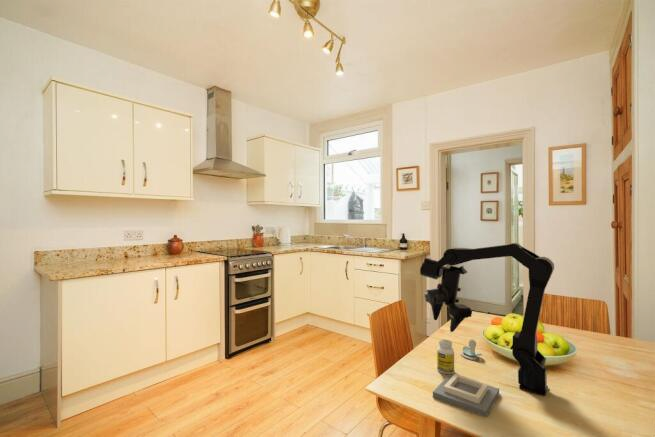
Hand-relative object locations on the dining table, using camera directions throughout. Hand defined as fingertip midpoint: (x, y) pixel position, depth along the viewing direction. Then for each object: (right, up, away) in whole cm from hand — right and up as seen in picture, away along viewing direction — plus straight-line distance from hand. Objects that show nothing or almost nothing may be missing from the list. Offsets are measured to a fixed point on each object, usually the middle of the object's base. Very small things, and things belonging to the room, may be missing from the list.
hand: (443, 325), depth 109 cm
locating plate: (-1, -13, -21) cm, 25 cm away
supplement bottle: (-1, -13, -6) cm, 15 cm away
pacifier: (+12, -14, +5) cm, 19 cm away
